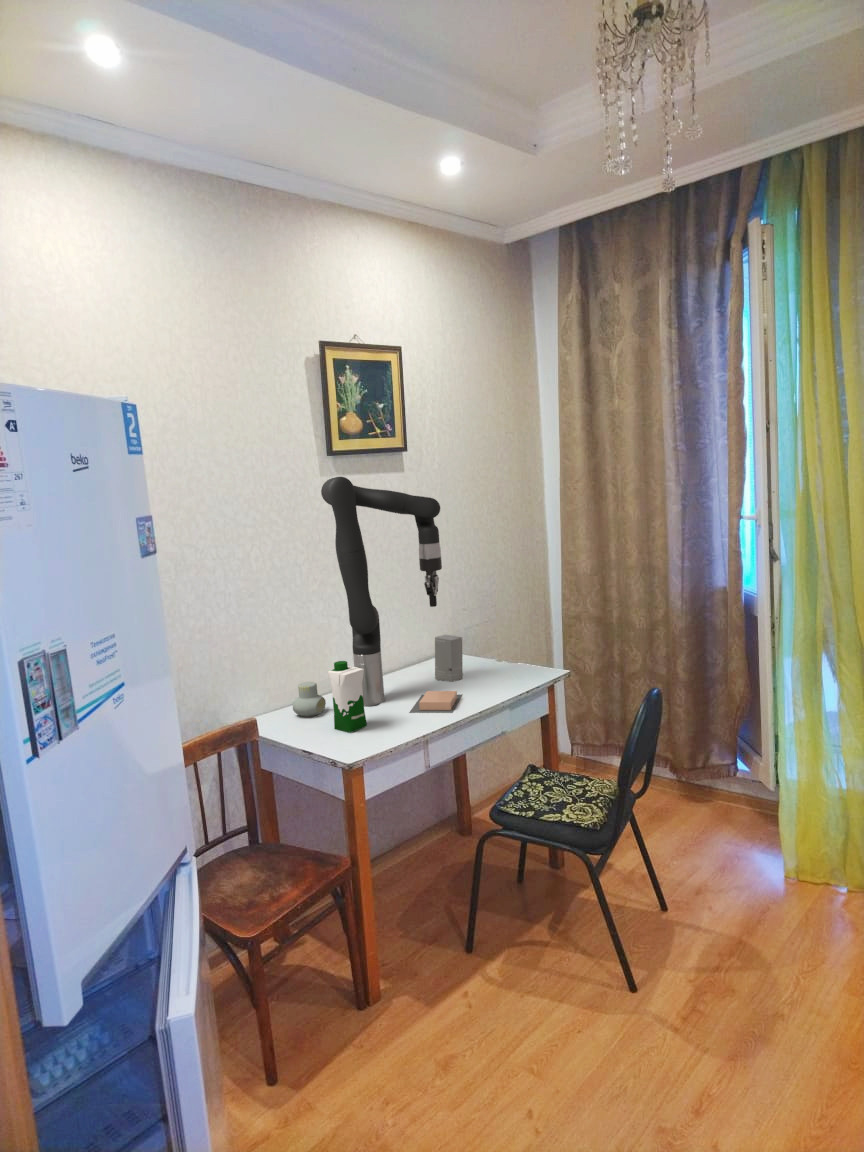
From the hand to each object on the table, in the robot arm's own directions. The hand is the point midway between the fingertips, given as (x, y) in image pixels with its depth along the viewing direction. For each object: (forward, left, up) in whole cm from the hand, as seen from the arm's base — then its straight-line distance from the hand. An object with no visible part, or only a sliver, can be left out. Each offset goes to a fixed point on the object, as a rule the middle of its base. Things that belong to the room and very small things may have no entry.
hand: (433, 606), depth 261 cm
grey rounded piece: (-37, -28, -29) cm, 55 cm away
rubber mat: (+3, -19, -29) cm, 35 cm away
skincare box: (+2, +11, -29) cm, 31 cm away
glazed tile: (+4, -14, -27) cm, 31 cm away
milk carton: (-19, -41, -29) cm, 54 cm away
